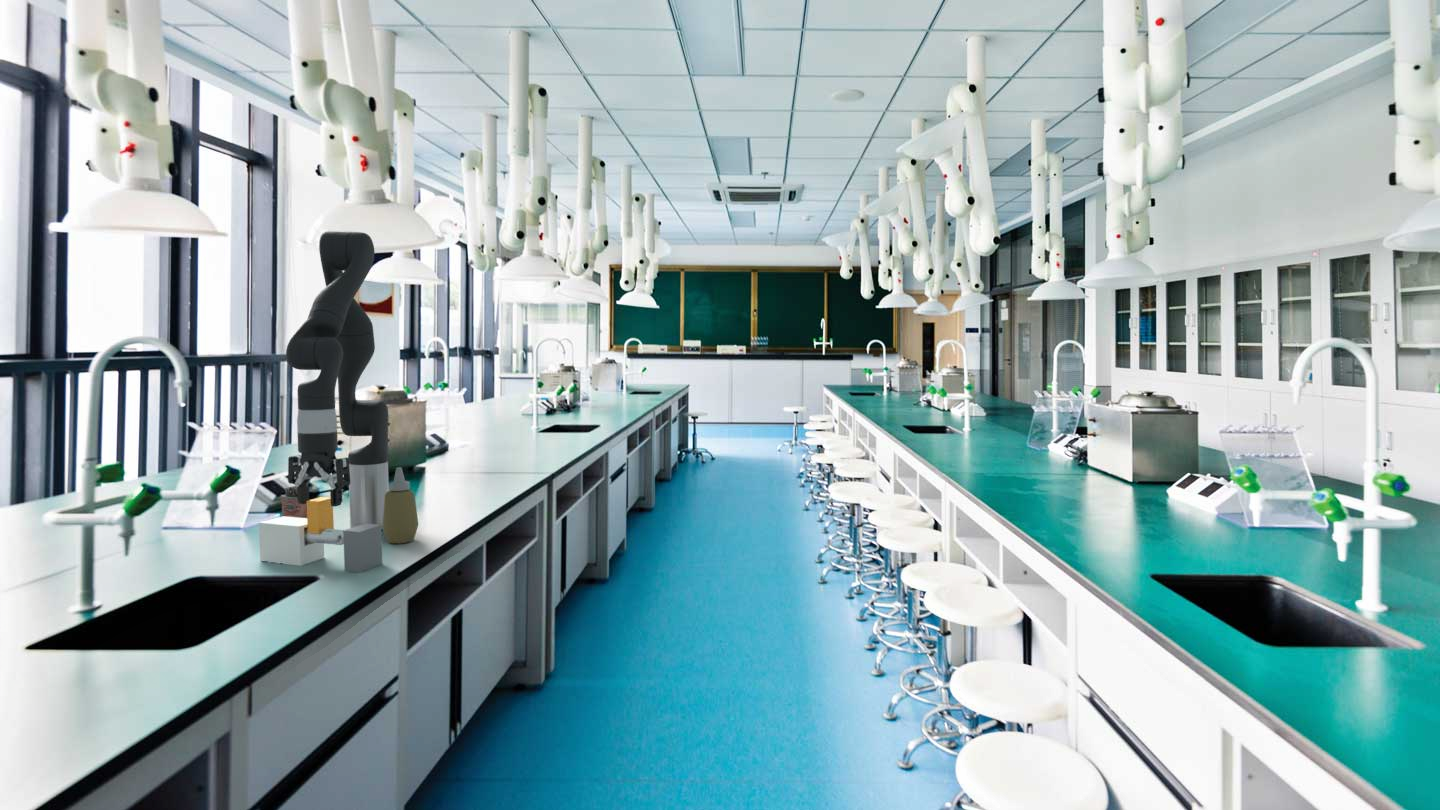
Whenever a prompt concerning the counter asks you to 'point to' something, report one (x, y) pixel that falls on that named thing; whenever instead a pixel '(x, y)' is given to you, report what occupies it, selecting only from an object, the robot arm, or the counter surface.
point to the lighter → (292, 504)
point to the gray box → (362, 547)
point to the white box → (287, 542)
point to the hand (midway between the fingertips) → (319, 504)
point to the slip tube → (321, 523)
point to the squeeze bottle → (400, 511)
